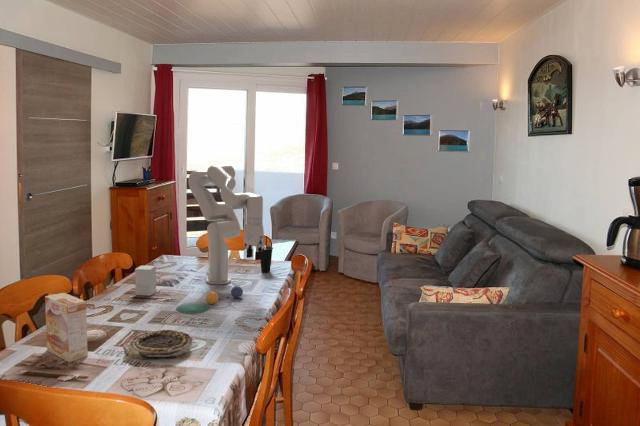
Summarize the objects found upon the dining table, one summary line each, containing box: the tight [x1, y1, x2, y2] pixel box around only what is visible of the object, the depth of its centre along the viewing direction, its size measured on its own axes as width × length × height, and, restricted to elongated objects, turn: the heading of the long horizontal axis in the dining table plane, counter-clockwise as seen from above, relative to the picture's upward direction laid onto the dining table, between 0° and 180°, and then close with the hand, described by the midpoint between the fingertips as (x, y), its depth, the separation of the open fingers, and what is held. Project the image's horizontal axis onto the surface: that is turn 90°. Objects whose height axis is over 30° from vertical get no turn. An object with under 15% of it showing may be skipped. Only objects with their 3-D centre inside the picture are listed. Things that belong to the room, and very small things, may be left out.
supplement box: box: [134, 265, 157, 296], centre depth 258 cm, size 7×7×13 cm
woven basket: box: [123, 329, 193, 365], centre depth 193 cm, size 28×27×5 cm
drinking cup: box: [260, 236, 274, 274], centre depth 305 cm, size 8×8×20 cm
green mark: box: [176, 302, 210, 315], centre depth 240 cm, size 14×14×1 cm
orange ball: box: [205, 291, 219, 305], centre depth 246 cm, size 6×6×6 cm
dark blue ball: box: [230, 285, 244, 299], centre depth 256 cm, size 6×6×6 cm
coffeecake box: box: [44, 292, 89, 363], centre depth 187 cm, size 15×7×20 cm, turn 52°
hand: (253, 258), depth 262 cm, fingers open, 5 cm apart
